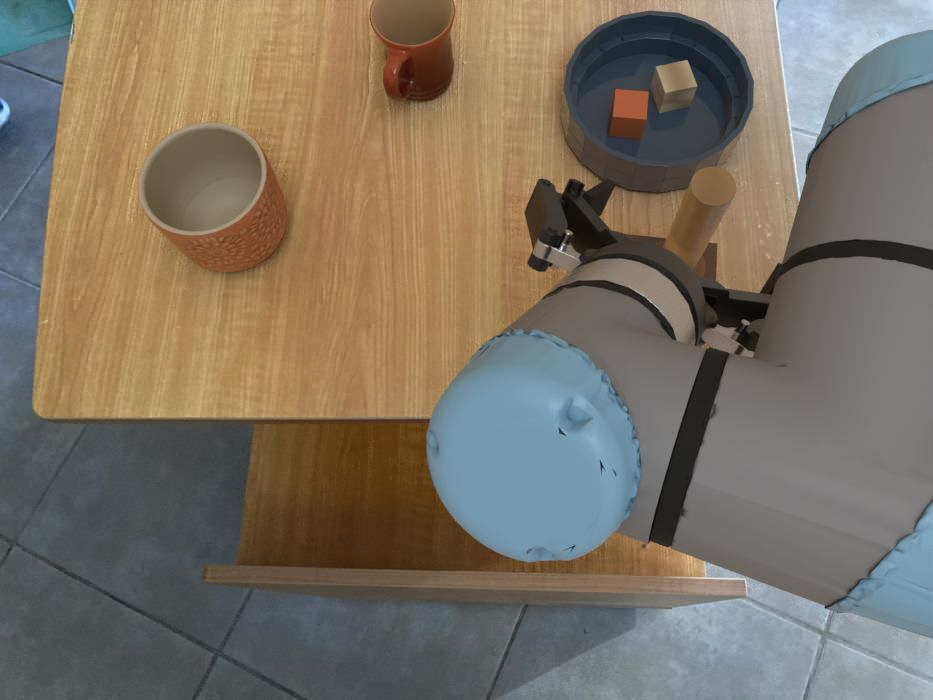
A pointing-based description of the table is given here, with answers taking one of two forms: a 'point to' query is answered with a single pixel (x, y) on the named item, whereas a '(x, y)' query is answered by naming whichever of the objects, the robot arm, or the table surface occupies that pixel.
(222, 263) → the planter
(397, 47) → the mug
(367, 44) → the table surface
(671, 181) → the bowl
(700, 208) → the pestle
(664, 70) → the cream block
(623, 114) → the terracotta block
